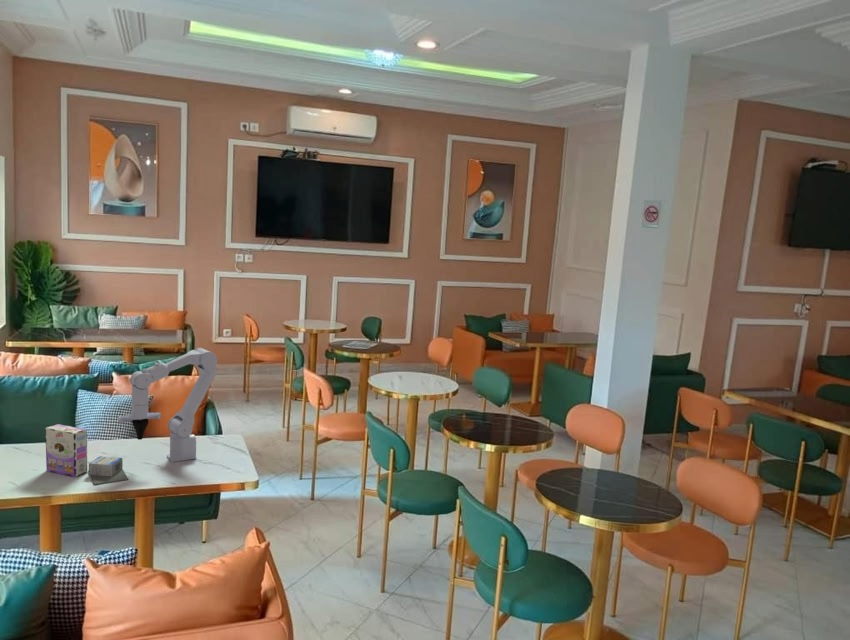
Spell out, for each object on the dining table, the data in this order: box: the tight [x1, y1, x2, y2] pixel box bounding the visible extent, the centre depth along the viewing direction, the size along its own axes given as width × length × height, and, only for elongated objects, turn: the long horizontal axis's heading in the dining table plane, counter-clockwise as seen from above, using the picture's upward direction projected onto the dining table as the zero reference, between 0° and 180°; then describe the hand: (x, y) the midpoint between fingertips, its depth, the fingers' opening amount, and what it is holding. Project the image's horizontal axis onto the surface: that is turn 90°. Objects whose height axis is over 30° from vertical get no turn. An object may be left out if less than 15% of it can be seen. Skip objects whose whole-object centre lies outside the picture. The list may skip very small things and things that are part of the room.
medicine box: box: [88, 455, 124, 476], centre depth 238 cm, size 8×4×9 cm
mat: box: [87, 468, 129, 486], centre depth 236 cm, size 11×14×1 cm
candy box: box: [44, 423, 88, 478], centre depth 236 cm, size 14×6×16 cm, turn 71°
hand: (139, 438), depth 246 cm, fingers closed
